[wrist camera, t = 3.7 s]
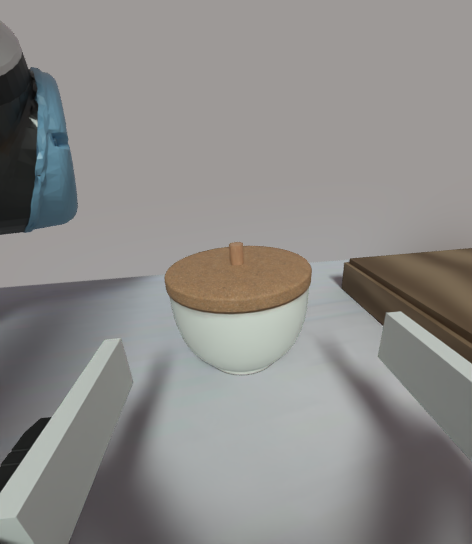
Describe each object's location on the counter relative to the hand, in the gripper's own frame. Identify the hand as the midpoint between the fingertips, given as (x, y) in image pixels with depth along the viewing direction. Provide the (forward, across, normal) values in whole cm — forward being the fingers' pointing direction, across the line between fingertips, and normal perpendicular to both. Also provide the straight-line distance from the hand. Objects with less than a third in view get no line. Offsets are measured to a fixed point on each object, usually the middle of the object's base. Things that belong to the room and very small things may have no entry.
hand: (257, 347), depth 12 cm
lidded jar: (+7, 0, -6) cm, 10 cm away
